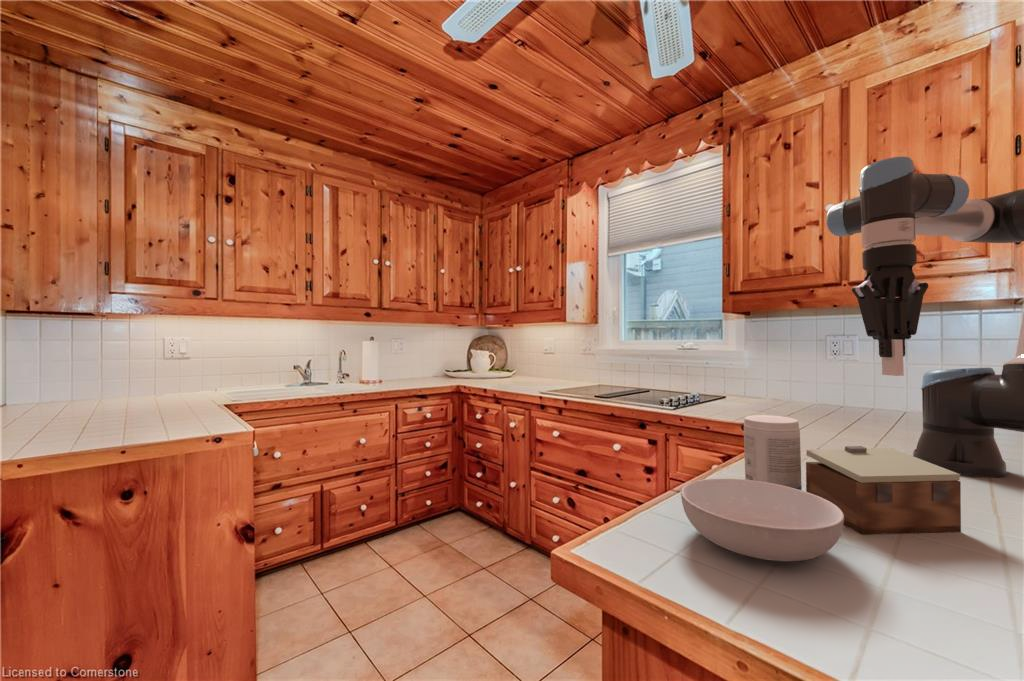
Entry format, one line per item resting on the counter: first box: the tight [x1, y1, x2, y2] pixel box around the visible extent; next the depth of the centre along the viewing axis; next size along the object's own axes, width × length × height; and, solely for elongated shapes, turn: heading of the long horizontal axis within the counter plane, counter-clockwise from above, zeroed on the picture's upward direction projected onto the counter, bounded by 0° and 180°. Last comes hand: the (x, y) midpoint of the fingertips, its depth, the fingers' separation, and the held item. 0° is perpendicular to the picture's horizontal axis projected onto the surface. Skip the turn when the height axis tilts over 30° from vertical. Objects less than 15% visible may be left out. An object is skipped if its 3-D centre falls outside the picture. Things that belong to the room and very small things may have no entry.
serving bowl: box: [680, 477, 844, 562], centre depth 65 cm, size 21×21×7 cm
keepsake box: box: [805, 461, 962, 536], centre depth 73 cm, size 16×12×8 cm
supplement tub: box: [743, 414, 803, 491], centre depth 86 cm, size 10×10×15 cm
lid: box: [805, 445, 961, 483], centre depth 74 cm, size 16×12×2 cm
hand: (892, 374), depth 80 cm, fingers closed
